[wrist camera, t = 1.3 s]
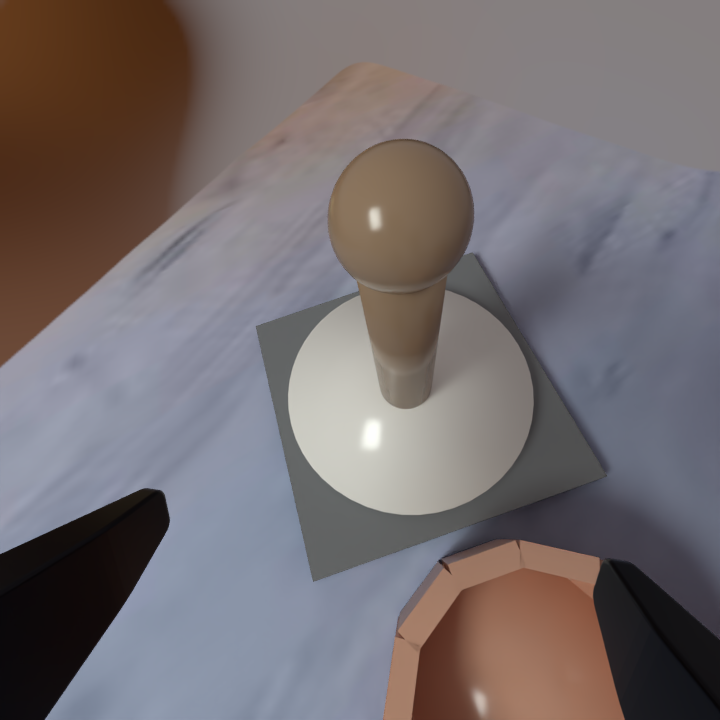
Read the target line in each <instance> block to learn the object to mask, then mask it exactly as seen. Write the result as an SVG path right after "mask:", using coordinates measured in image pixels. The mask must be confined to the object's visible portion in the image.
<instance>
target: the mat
mask: <svg viewBox="0 0 720 720" xmlns="http://www.w3.org/2000/svg"><path fill="white" fill-rule="evenodd" d="M445 290H447V291H451V292H453V293H456V294H459V295H461V296H464V297H466V298H468V299H469V300H471V301H473V302H475V303H477V304H478V305H480V306H481V307H483V308H484V309H486V310H487V311H489V312H490V313H491V314H492V315H493V316H494V317H496V318H497V319H498V320H499V321H500V322H501V323H502V324H503V325H504V327H505V328H506V329H507V330H508V331H509V332H510V333H511V335H512V336H513V338H514V339H515V341H516V342H517V344H518V345H519V347H520V349H521V351H522V353H523V355H524V357H525V359H526V362H527V365H528V368H529V371H530V375H531V380H532V385H533V399H534V406H533V416H532V422H531V426H530V430H529V434H528V437H527V439H526V441H525V444H524V446H523V448H522V451H521V452H520V454H519V456H518V457H517V459H516V460H515V462H514V464H513V465H512V466H511V468H510V469H509V470H508V471H507V472H506V473H505V475H504V476H503V477H502V478H501V479H500V480H499V481H498V482H497V483H495V484H494V485H493V486H492V487H491V488H490V489H488V490H487V491H486V492H484V493H482V494H481V495H479V496H478V497H476V498H474V499H473V500H471V501H469V502H467V503H465V504H463V505H460V506H458V507H456V508H454V509H450V510H446V511H443V512H439V513H434V514H427V515H397V514H390V513H384V512H381V511H377V510H374V509H371V508H368V507H365V506H363V505H361V504H359V503H357V502H355V501H352V500H351V499H349V498H347V497H346V496H344V495H343V494H341V493H340V492H338V491H336V490H335V489H334V488H333V487H331V486H330V485H329V484H328V483H327V482H326V481H324V480H323V479H322V478H321V477H320V476H319V474H318V473H317V472H316V471H315V470H314V469H313V468H312V467H311V465H310V464H309V462H308V461H307V459H306V458H305V456H304V455H303V453H302V451H301V449H300V447H299V445H298V443H297V441H296V438H295V435H294V432H293V429H292V426H291V421H290V415H289V409H288V391H289V381H290V377H291V372H292V368H293V365H294V363H295V360H296V357H297V355H298V353H299V351H300V349H301V347H302V345H303V343H304V341H305V340H306V339H307V337H308V336H309V334H310V333H311V332H312V330H313V329H314V328H315V327H316V326H317V325H318V324H319V322H320V321H321V320H322V319H323V318H325V317H326V316H327V315H328V314H329V313H330V312H331V311H333V310H334V309H336V308H337V307H339V306H340V305H341V304H343V303H345V302H347V301H348V300H350V299H352V298H354V297H356V296H359V295H360V293H359V291H358V292H355V293H352V294H349V295H346V296H343V297H340V298H337V299H334V300H332V301H329V302H326V303H323V304H320V305H317V306H314V307H311V308H308V309H305V310H302V311H299V312H296V313H293V314H291V315H288V316H285V317H282V318H279V319H276V320H273V321H270V322H267V323H264V324H261V325H258V326H256V329H257V334H258V338H259V343H260V347H261V352H262V356H263V360H264V365H265V369H266V374H267V378H268V383H269V387H270V392H271V396H272V401H273V405H274V409H275V414H276V418H277V423H278V427H279V432H280V436H281V441H282V445H283V450H284V454H285V459H286V463H287V467H288V472H289V476H290V481H291V485H292V490H293V494H294V499H295V503H296V508H297V512H298V516H299V521H300V525H301V530H302V534H303V539H304V543H305V548H306V552H307V557H308V561H309V566H310V570H311V574H312V579H313V582H314V581H317V580H319V579H322V578H325V577H328V576H331V575H333V574H336V573H339V572H342V571H345V570H347V569H350V568H353V567H356V566H358V565H361V564H364V563H367V562H370V561H372V560H375V559H378V558H381V557H384V556H386V555H389V554H392V553H395V552H398V551H400V550H403V549H406V548H409V547H411V546H414V545H417V544H420V543H423V542H425V541H428V540H431V539H434V538H437V537H439V536H442V535H445V534H448V533H450V532H453V531H456V530H459V529H462V528H464V527H467V526H470V525H473V524H476V523H478V522H481V521H484V520H487V519H490V518H492V517H495V516H498V515H501V514H503V513H506V512H509V511H512V510H515V509H517V508H520V507H523V506H526V505H529V504H531V503H534V502H537V501H540V500H542V499H545V498H548V497H551V496H554V495H556V494H559V493H562V492H565V491H568V490H570V489H573V488H576V487H579V486H582V485H584V484H587V483H590V482H593V481H595V480H598V479H601V478H604V477H607V475H606V473H605V471H604V470H603V468H602V466H601V465H600V463H599V462H598V460H597V458H596V457H595V455H594V453H593V452H592V450H591V448H590V447H589V445H588V443H587V442H586V440H585V438H584V437H583V435H582V433H581V432H580V430H579V428H578V427H577V425H576V423H575V422H574V420H573V418H572V417H571V415H570V413H569V412H568V410H567V408H566V407H565V405H564V403H563V402H562V400H561V399H560V397H559V395H558V394H557V392H556V390H555V389H554V387H553V385H552V384H551V382H550V380H549V379H548V377H547V375H546V374H545V372H544V370H543V369H542V367H541V365H540V364H539V362H538V360H537V359H536V357H535V355H534V354H533V352H532V350H531V349H530V347H529V345H528V344H527V342H526V340H525V339H524V337H523V336H522V334H521V332H520V331H519V329H518V327H517V326H516V324H515V322H514V321H513V319H512V317H511V316H510V314H509V312H508V311H507V309H506V307H505V306H504V304H503V302H502V301H501V299H500V297H499V296H498V294H497V292H496V291H495V289H494V287H493V286H492V284H491V282H490V281H489V279H488V277H487V276H486V274H485V273H484V271H483V269H482V268H481V266H480V264H479V263H478V261H477V259H476V258H475V256H474V254H473V253H469V254H466V255H464V256H462V258H461V260H460V261H459V262H458V264H457V265H456V266H455V267H454V269H453V270H452V271H451V272H450V273H449V274H448V275H447V281H446V288H445Z"/></svg>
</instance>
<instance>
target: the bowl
mask: <svg viewBox="0 0 720 720" xmlns="http://www.w3.org/2000/svg"><path fill="white" fill-rule="evenodd" d="M441 560H442V564H440V563H439V562H437V563H436V564H435V566H434V567H433V568H432V570H431V571H430V572H429V574H428V575H427V577H426V578H425V579H424V581H423V582H422V583H421V585H420V586H419V587H418V589H417V590H416V591H415V593H414V594H413V595H412V597H411V598H410V600H409V601H408V602H407V604H406V605H405V606H404V608H403V609H402V610H401V612H400V617H398V622H397V628H396V635H395V641H394V648H393V655H392V662H391V669H390V676H389V683H388V689H387V696H386V703H385V710H384V717H383V720H625V719H624V716H623V713H622V710H621V706H620V703H619V700H618V696H617V693H616V689H615V685H614V681H613V677H612V674H611V670H610V666H609V662H608V658H607V654H606V650H605V646H604V642H603V638H602V634H601V630H600V626H599V623H598V619H597V615H596V611H595V607H594V602H593V589H594V586H595V583H596V580H597V576H598V573H599V570H600V567H601V564H602V562H603V561H604V560H599V557H594V556H590V555H585V554H581V553H576V552H572V551H567V550H563V549H558V548H554V547H550V546H545V545H541V544H536V543H532V542H527V541H523V540H511V539H495V540H492V541H489V542H487V543H484V544H481V545H478V546H475V547H473V548H470V549H467V550H464V551H462V552H459V553H456V554H453V555H450V556H448V557H445V558H442V559H441Z"/></svg>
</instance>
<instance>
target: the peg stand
mask: <svg viewBox="0 0 720 720" xmlns="http://www.w3.org/2000/svg"><path fill="white" fill-rule="evenodd" d="M473 224H474V203H473V197H472V193H471V190H470V187H469V184H468V182H467V180H466V177H465V176H464V174H463V172H462V170H461V169H460V168H459V167H458V165H457V164H456V163H455V161H454V160H453V159H452V158H450V157H449V156H448V155H447V154H446V153H445V152H443V151H442V150H440V149H439V148H437V147H435V146H433V145H431V144H428V143H426V142H423V141H419V140H413V139H395V140H389V141H385V142H381V143H379V144H376V145H374V146H372V147H370V148H368V149H366V150H365V151H363V152H362V153H360V154H359V155H358V156H357V157H355V158H354V159H353V160H352V161H351V162H350V163H349V165H348V166H347V167H346V168H345V169H344V171H343V172H342V174H341V175H340V177H339V179H338V180H337V182H336V184H335V187H334V189H333V192H332V195H331V198H330V202H329V208H328V232H329V237H330V241H331V244H332V247H333V250H334V252H335V254H336V256H337V258H338V260H339V262H340V263H341V265H342V266H343V267H344V269H345V270H346V271H347V272H348V273H349V274H350V275H351V276H352V277H353V278H354V279H355V280H357V283H358V288H359V293H360V295H359V296H356V297H354V298H352V299H350V300H348V301H347V302H345V303H343V304H341V305H340V306H339V307H337V308H336V309H334V310H333V311H331V312H330V313H329V314H328V315H327V316H326V317H325V318H323V319H322V320H321V321H320V322H319V324H318V325H317V326H316V327H315V328H314V329H313V330H312V332H311V333H310V334H309V336H308V337H307V339H306V340H305V341H304V343H303V345H302V347H301V349H300V351H299V353H298V355H297V357H296V360H295V363H294V365H293V368H292V372H291V377H290V381H289V391H288V409H289V415H290V421H291V426H292V429H293V432H294V435H295V438H296V441H297V443H298V445H299V447H300V449H301V451H302V453H303V455H304V456H305V458H306V459H307V461H308V462H309V464H310V465H311V467H312V468H313V469H314V470H315V471H316V472H317V473H318V474H319V476H320V477H321V478H322V479H323V480H324V481H326V482H327V483H328V484H329V485H330V486H331V487H333V488H334V489H335V490H336V491H338V492H340V493H341V494H343V495H344V496H346V497H347V498H349V499H351V500H352V501H355V502H357V503H359V504H361V505H363V506H365V507H368V508H371V509H374V510H377V511H381V512H384V513H390V514H397V515H427V514H434V513H439V512H443V511H446V510H450V509H454V508H456V507H458V506H460V505H463V504H465V503H467V502H469V501H471V500H473V499H474V498H476V497H478V496H479V495H481V494H482V493H484V492H486V491H487V490H488V489H490V488H491V487H492V486H493V485H494V484H495V483H497V482H498V481H499V480H500V479H501V478H502V477H503V476H504V475H505V473H506V472H507V471H508V470H509V469H510V468H511V466H512V465H513V464H514V462H515V460H516V459H517V457H518V456H519V454H520V452H521V451H522V448H523V446H524V444H525V441H526V439H527V437H528V434H529V430H530V426H531V422H532V416H533V406H534V399H533V385H532V380H531V375H530V371H529V368H528V365H527V362H526V359H525V357H524V355H523V353H522V351H521V349H520V347H519V345H518V344H517V342H516V341H515V339H514V338H513V336H512V335H511V333H510V332H509V331H508V330H507V329H506V328H505V327H504V325H503V324H502V323H501V322H500V321H499V320H498V319H497V318H496V317H494V316H493V315H492V314H491V313H490V312H489V311H487V310H486V309H484V308H483V307H481V306H480V305H478V304H477V303H475V302H473V301H471V300H469V299H468V298H466V297H464V296H461V295H459V294H456V293H453V292H451V291H447V290H445V288H446V281H447V275H448V274H449V273H450V272H451V271H452V270H453V269H454V267H455V266H456V265H457V264H458V262H459V261H460V260H461V258H462V256H463V255H464V253H465V251H466V249H467V247H468V244H469V241H470V238H471V235H472V230H473Z"/></svg>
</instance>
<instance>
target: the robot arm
mask: <svg viewBox="0 0 720 720" xmlns="http://www.w3.org/2000/svg"><path fill="white" fill-rule="evenodd" d="M169 523H170V517H169V512H168V508H167V503H166V498H165V495H164V493H163V492H162V491H160V490H156V489H149V488H144V489H141V490H139V491H137V492H134V493H132V494H130V495H128V496H126V497H123V498H121V499H119V500H117V501H115V502H113V503H110V504H108V505H106V506H104V507H102V508H100V509H97V510H95V511H93V512H91V513H89V514H87V515H84V516H82V517H80V518H78V519H76V520H74V521H71V522H69V523H67V524H65V525H63V526H61V527H58V528H56V529H54V530H52V531H50V532H48V533H45V534H43V535H41V536H39V537H37V538H34V539H32V540H30V541H28V542H26V543H24V544H21V545H19V546H17V547H15V548H13V549H11V550H8V551H6V552H4V553H2V554H0V720H45V719H46V717H47V716H48V714H49V713H50V711H51V710H52V708H53V707H54V705H55V704H56V703H57V701H58V700H59V698H60V697H61V695H62V694H63V692H64V691H65V690H66V688H67V687H68V685H69V684H70V682H71V681H72V679H73V678H74V676H75V675H76V674H77V672H78V671H79V669H80V668H81V666H82V665H83V663H84V662H85V661H86V659H87V658H88V656H89V655H90V653H91V652H92V650H93V649H94V647H95V646H96V645H97V643H98V642H99V640H100V639H101V637H102V636H103V634H104V633H105V631H106V630H107V629H108V627H109V626H110V624H111V623H112V621H113V620H114V618H115V617H116V616H117V614H118V613H119V611H120V610H121V608H122V607H123V605H124V604H125V602H126V601H127V599H128V597H129V596H130V594H131V592H132V591H133V589H134V587H135V586H136V584H137V582H138V580H139V579H140V577H141V575H142V574H143V572H144V570H145V568H146V567H147V565H148V563H149V561H150V560H151V558H152V556H153V554H154V553H155V551H156V549H157V547H158V546H159V544H160V542H161V540H162V539H163V537H164V535H165V533H166V532H167V530H168V527H169ZM593 602H594V607H595V611H596V615H597V619H598V623H599V626H600V630H601V634H602V638H603V642H604V646H605V650H606V654H607V658H608V662H609V666H610V670H611V674H612V677H613V681H614V685H615V689H616V693H617V696H618V700H619V703H620V706H621V710H622V713H623V716H624V719H625V720H720V640H719V639H718V638H717V637H716V636H715V635H714V634H713V633H711V632H710V631H709V630H708V629H707V628H706V627H705V626H703V625H702V624H701V623H700V622H699V621H698V620H697V619H695V618H694V617H693V616H692V615H691V614H690V613H689V612H688V611H686V610H685V609H684V608H683V607H682V606H681V605H680V604H678V603H677V602H676V601H675V600H674V599H673V598H672V597H670V596H669V595H668V594H667V593H666V592H665V591H664V590H662V589H661V588H660V587H659V586H658V585H657V584H656V583H654V582H653V581H652V580H651V579H650V578H649V577H648V576H646V575H645V574H644V573H643V572H642V571H641V570H640V569H639V568H637V567H636V566H635V565H634V564H632V563H630V562H628V561H622V560H615V559H605V560H604V561H603V562H602V564H601V567H600V570H599V573H598V576H597V580H596V583H595V586H594V589H593Z"/></svg>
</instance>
